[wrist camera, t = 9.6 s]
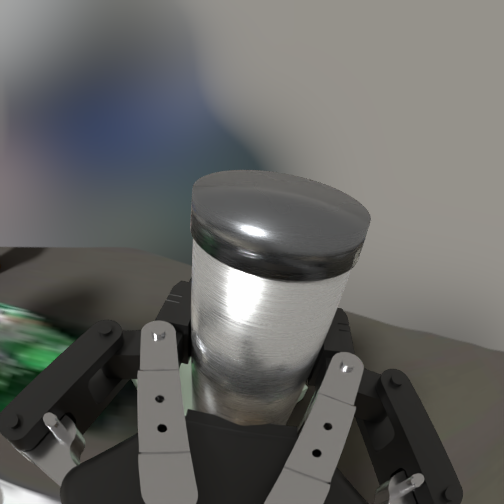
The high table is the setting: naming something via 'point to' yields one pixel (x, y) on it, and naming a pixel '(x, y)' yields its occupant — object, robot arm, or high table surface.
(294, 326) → the canister
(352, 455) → the high table surface
